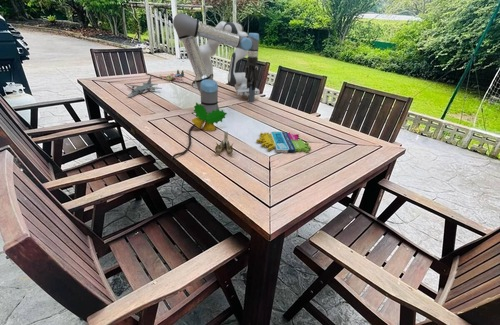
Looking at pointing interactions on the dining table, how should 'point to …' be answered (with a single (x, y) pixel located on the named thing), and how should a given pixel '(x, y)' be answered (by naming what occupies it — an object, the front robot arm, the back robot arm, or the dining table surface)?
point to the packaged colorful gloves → (283, 142)
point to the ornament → (207, 117)
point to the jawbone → (224, 145)
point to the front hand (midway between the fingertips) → (251, 88)
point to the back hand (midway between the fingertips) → (252, 94)
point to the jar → (251, 95)
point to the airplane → (142, 88)
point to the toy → (173, 76)
